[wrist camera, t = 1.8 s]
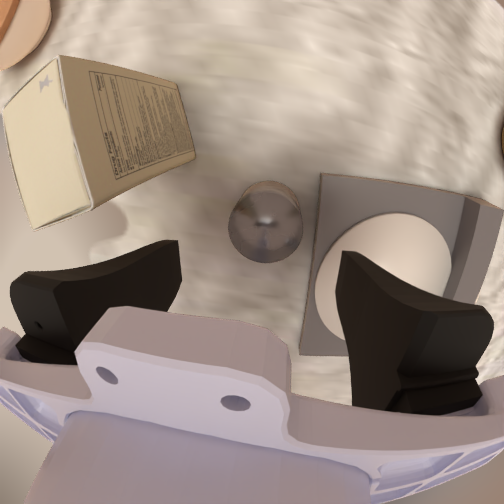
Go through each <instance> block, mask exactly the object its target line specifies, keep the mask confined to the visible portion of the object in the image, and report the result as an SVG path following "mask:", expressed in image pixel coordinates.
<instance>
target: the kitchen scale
mask: <svg viewBox="0 0 504 504" xmlns="http://www.w3.org/2000/svg"><path fill="white" fill-rule="evenodd" d="M503 212H504V210H502V209H501V208H499V207H497V206H495V205H493V204H491V203H489V202H487V201H485V200H483V199H480V198H476V197H472V196H467V195H463V194H458V193H454V192H449V191H444V190H439V189H434V188H429V187H423V186H417V185H412V184H406V183H399V182H393V181H386V180H379V179H371V178H363V177H355V176H346V175H336V174H326V173H321V176H320V190H319V201H318V213H317V223H316V233H315V242H314V251H313V259H312V267H311V275H310V282H309V289H308V296H307V303H306V310H305V316H304V323H303V329H302V335H301V341H300V346H299V355H305V356H349V355H348V350H347V345H346V341H345V337H344V334H343V330H342V326H341V322H340V319H339V315H338V311H337V305H336V297H335V288H336V283H337V277H338V272H339V266H340V260H341V254H342V250H344V251H356V252H358V253H360V254H362V255H364V256H365V257H367V258H368V259H370V260H371V261H373V262H374V263H376V264H377V265H379V266H380V267H382V268H383V269H385V270H386V271H388V272H389V273H391V274H393V275H394V276H396V277H398V278H399V279H401V280H403V281H405V282H407V283H409V284H411V285H413V286H415V287H417V288H420V289H422V290H424V291H427V292H429V293H432V294H435V295H438V296H441V297H444V298H447V299H451V300H455V301H458V302H463V303H469V304H475V303H476V302H477V300H478V297H479V292H480V289H481V286H482V284H483V281H484V278H485V276H486V273H487V270H488V267H489V264H490V261H491V258H492V255H493V251H494V248H495V244H496V241H497V237H498V233H499V229H500V225H501V221H502V217H503Z"/></svg>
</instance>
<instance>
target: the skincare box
mask: <svg viewBox="0 0 504 504" xmlns="http://www.w3.org/2000/svg"><path fill="white" fill-rule="evenodd" d="M2 117H3V125H4V132H5V139H6V144H7V149H8V154H9V158H10V163H11V167H12V171H13V175H14V178H15V182H16V186H17V189H18V192H19V196H20V199H21V202H22V204H23V207H24V210H25V213H26V215H27V218H28V221H29V223H30V226H31V229H32V230H33V231H34V232H35V231H38V230H40V229H43V228H46V227H49V226H52V225H55V224H57V223H60V222H63V221H65V220H68V219H71V218H73V217H76V216H78V215H81V214H83V213H86V212H89V211H91V210H93V209H95V208H96V207H98V206H100V205H101V204H103V203H105V202H107V201H109V200H110V199H112V198H114V197H116V196H118V195H120V194H122V193H124V192H125V191H127V190H129V189H131V188H133V187H135V186H137V185H139V184H141V183H143V182H145V181H147V180H149V179H152V178H154V177H156V176H158V175H160V174H162V173H164V172H167V171H169V170H171V169H173V168H175V167H178V166H180V165H182V164H185V163H187V162H189V161H192V160H194V159H195V157H196V156H195V151H194V147H193V143H192V139H191V135H190V131H189V127H188V123H187V120H186V116H185V113H184V109H183V106H182V102H181V99H180V95H179V92H178V89H177V85H176V84H175V83H173V82H170V81H167V80H164V79H161V78H158V77H154V76H151V75H148V74H144V73H141V72H137V71H133V70H130V69H126V68H122V67H118V66H114V65H110V64H106V63H100V62H96V61H91V60H86V59H81V58H75V57H69V56H63V55H57V56H55V57H54V58H53V59H52V60H51V61H49V62H48V63H47V64H46V65H45V66H43V67H42V68H41V69H40V70H39V71H38V72H37V73H35V74H34V75H33V76H32V77H31V78H30V79H29V80H28V81H27V82H26V83H25V84H24V85H23V86H22V87H21V88H20V89H19V90H18V91H17V92H16V93H15V94H14V95H13V96H12V97H11V98H10V100H9V101H8V102H7V103H6V104H5V105H4V107H3V108H2Z"/></svg>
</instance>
